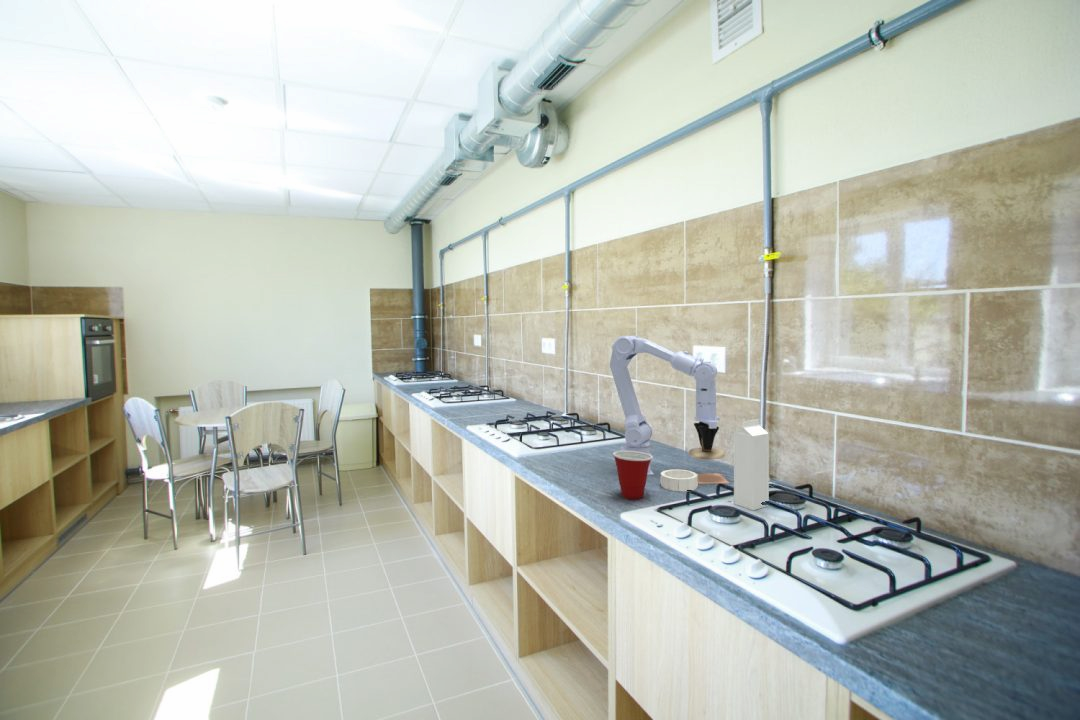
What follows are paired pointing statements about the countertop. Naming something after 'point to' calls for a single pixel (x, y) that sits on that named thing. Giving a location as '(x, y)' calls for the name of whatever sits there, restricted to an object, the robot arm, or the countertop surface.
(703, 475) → the mat
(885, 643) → the countertop surface
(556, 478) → the countertop surface
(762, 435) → the milk
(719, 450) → the lid
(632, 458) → the plastic cup
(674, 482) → the bowl
